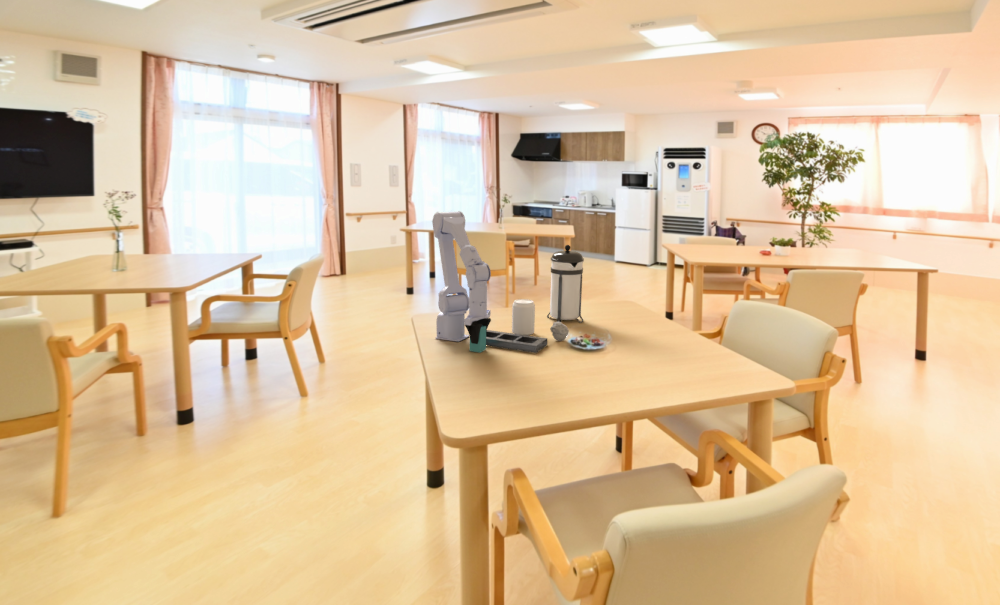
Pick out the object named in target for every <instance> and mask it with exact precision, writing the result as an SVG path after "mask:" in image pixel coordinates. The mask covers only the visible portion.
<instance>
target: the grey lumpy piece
mask: <svg viewBox="0 0 1000 605" xmlns="http://www.w3.org/2000/svg"><path fill="white" fill-rule="evenodd" d="M550 332H551V333H552V334H551V336H553V338H554V340H555V341H556V342H563V341H564V340H566V339H567V337H568V336H569V335H568V334H569V332H570V331H569V327H568V326H567V325H565V324H563V322H562V321H561V322H556V321H553V323H552V326H551V327H550ZM566 336H567V337H566Z"/></svg>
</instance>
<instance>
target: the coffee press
mask: <svg viewBox="0 0 1000 605" xmlns="http://www.w3.org/2000/svg"><path fill="white" fill-rule="evenodd" d="M564 249H565V250H558V251H556V252H554V253H553V254H552V255H551V257H550V261H551V267H550V302H549V303H550V304H549V313H548V314H547V316H546V317H547V319H549V317H550V316H551V317H550V319H551V318H553V319H556V321H555V322H561V323H562V321H563V320H564V321H572V320H576V321H577V322H578V323H579V324H582V323H583V322H584V319H583V317H582V295H583V294H582V292H583V273H584V267H583V264H584V261H585V258H584V256H583V254H582V253H580V252H578V251H574V250H571V245H570V244H566V245H565V246H564ZM579 318H580V319H579Z"/></svg>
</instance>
